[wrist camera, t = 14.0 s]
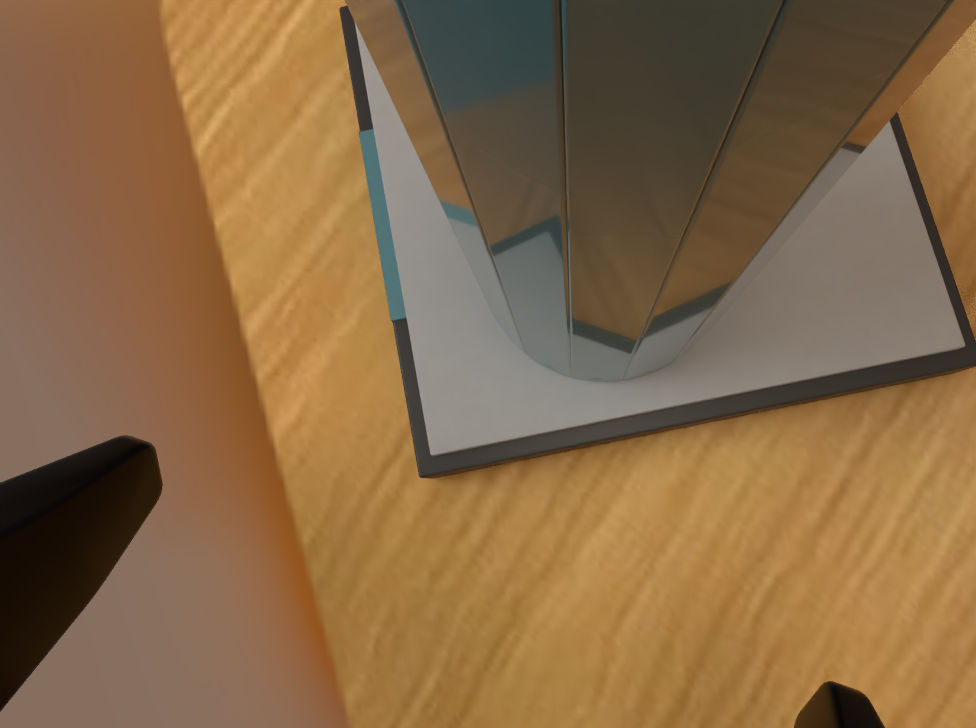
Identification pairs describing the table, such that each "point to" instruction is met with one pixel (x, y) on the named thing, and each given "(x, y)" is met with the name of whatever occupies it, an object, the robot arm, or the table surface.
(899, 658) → the table surface
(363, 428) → the table surface
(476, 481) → the table surface
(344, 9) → the scale
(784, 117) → the tumbler
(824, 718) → the robot arm
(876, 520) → the table surface
